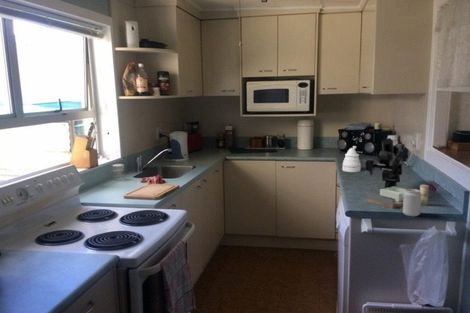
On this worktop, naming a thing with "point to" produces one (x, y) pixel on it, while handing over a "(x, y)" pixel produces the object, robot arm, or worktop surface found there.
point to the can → (412, 202)
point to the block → (393, 193)
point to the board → (383, 200)
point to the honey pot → (351, 161)
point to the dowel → (424, 194)
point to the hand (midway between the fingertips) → (379, 176)
